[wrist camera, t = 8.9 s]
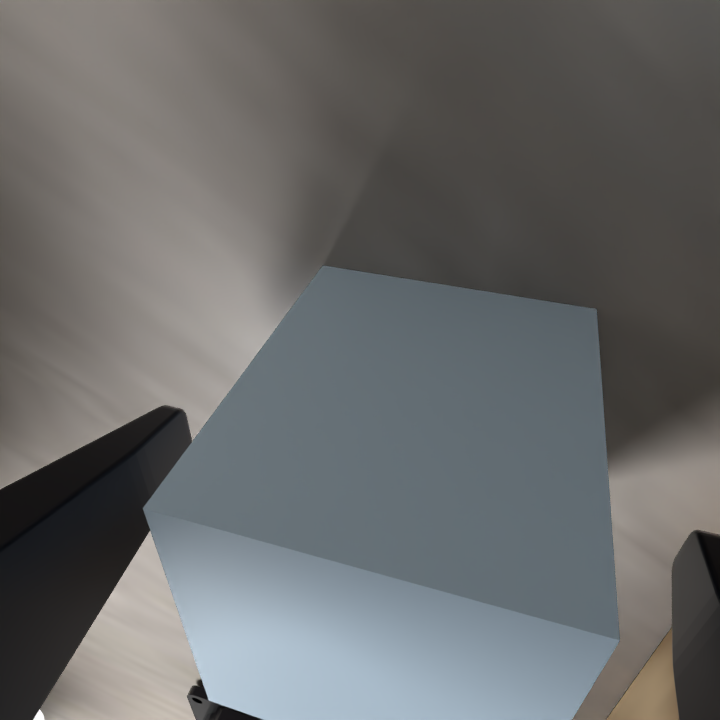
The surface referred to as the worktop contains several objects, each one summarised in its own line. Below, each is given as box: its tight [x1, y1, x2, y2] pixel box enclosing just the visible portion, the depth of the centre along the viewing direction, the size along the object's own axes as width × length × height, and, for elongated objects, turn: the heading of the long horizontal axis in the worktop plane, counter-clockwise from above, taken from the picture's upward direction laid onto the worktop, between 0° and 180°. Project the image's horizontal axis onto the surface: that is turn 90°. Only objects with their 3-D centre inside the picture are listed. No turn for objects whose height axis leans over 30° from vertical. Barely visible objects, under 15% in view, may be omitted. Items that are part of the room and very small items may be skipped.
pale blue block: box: [143, 266, 620, 720], centre depth 10 cm, size 5×5×6 cm
